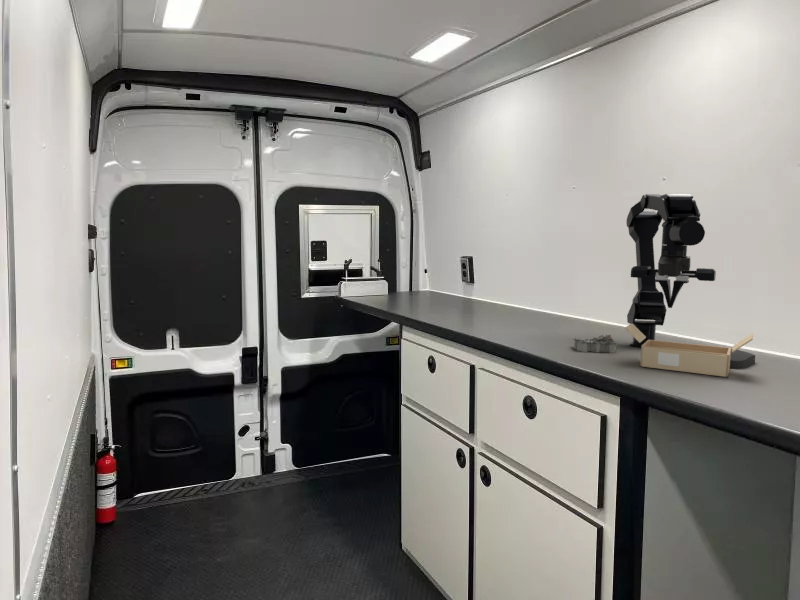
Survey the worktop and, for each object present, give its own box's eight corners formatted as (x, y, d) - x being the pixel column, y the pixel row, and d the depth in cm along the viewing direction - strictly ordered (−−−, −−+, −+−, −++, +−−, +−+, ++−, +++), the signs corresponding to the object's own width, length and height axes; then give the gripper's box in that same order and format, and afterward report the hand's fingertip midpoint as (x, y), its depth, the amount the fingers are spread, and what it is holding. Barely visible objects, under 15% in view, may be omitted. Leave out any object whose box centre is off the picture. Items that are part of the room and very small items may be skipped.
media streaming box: (758, 363, 143) (759, 351, 143) (741, 371, 133) (742, 359, 133) (696, 354, 154) (697, 343, 153) (675, 361, 143) (676, 349, 143)
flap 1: (640, 342, 135) (625, 327, 137) (639, 342, 136) (624, 328, 137) (646, 337, 142) (632, 323, 144) (645, 338, 143) (631, 323, 144)
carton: (647, 358, 144) (648, 339, 144) (729, 368, 135) (731, 347, 134) (639, 367, 135) (641, 346, 134) (727, 377, 125) (729, 355, 125)
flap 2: (733, 345, 133) (752, 333, 130) (734, 346, 133) (753, 334, 130) (731, 351, 126) (751, 338, 123) (732, 352, 125) (752, 339, 123)
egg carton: (611, 349, 158) (612, 334, 158) (618, 354, 151) (619, 339, 150) (572, 347, 160) (572, 332, 159) (576, 352, 152) (577, 337, 152)
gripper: (628, 244, 140) (624, 307, 142) (715, 246, 130) (709, 314, 132) (636, 244, 149) (632, 303, 151) (717, 246, 139) (713, 309, 141)
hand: (670, 307), depth 143 cm, fingers closed
